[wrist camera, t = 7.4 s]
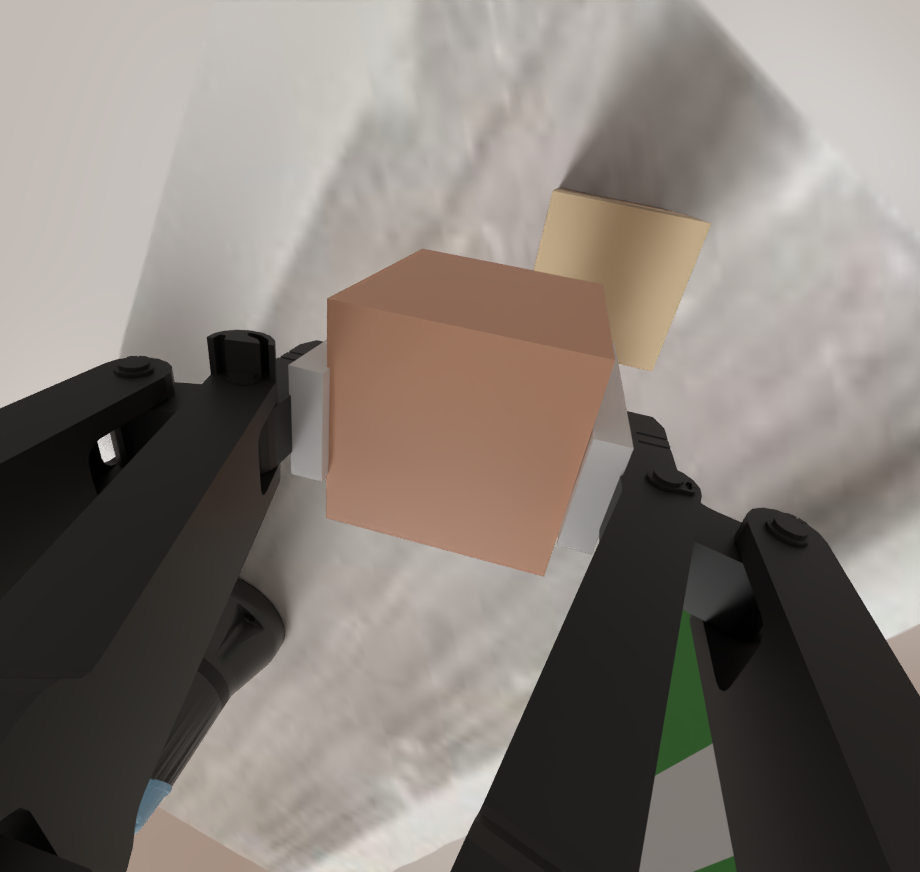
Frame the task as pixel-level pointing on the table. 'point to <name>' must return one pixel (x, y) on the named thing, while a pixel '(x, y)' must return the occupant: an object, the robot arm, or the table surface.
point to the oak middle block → (624, 264)
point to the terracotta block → (463, 403)
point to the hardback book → (686, 780)
